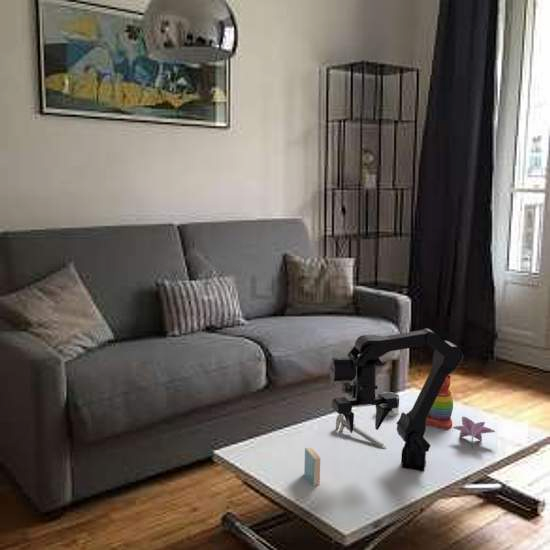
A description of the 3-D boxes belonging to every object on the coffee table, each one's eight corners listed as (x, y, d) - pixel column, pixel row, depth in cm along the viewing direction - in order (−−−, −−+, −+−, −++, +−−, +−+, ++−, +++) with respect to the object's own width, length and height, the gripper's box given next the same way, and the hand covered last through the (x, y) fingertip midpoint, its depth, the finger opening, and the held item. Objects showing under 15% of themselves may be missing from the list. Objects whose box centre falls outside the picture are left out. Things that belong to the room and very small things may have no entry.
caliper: (335, 429, 214) (336, 412, 212) (337, 429, 214) (338, 411, 213) (384, 449, 199) (385, 431, 198) (386, 448, 200) (387, 430, 199)
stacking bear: (417, 423, 220) (420, 374, 217) (428, 414, 228) (431, 366, 225) (447, 430, 214) (451, 380, 211) (457, 421, 222) (461, 372, 219)
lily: (499, 451, 201) (497, 420, 205) (482, 447, 193) (481, 415, 197) (464, 451, 209) (463, 421, 212) (446, 447, 201) (445, 417, 204)
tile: (310, 473, 183) (311, 447, 181) (319, 484, 176) (320, 458, 175) (304, 474, 182) (305, 448, 181) (312, 485, 176) (313, 458, 174)
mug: (394, 417, 224) (395, 400, 223) (377, 413, 227) (377, 396, 226) (404, 408, 232) (405, 391, 231) (387, 405, 236) (388, 388, 235)
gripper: (382, 368, 191) (380, 417, 194) (325, 373, 186) (324, 423, 189) (400, 380, 181) (397, 431, 183) (339, 386, 175) (338, 438, 178)
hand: (363, 430), depth 184 cm, fingers open, 8 cm apart
